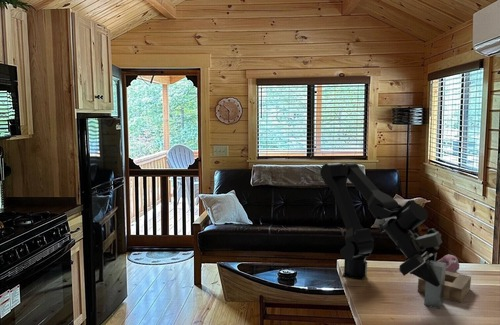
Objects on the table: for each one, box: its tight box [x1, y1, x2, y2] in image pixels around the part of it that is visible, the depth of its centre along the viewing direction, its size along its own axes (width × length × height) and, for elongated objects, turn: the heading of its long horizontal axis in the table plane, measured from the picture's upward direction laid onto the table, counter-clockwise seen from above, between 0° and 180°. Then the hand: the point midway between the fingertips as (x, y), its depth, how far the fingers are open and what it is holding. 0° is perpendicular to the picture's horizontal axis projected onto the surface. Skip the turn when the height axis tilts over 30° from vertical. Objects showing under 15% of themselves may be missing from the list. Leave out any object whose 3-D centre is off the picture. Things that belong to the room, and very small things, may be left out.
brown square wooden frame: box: [417, 271, 472, 304], centre depth 133 cm, size 12×12×4 cm
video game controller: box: [437, 253, 460, 273], centre depth 148 cm, size 10×5×7 cm, turn 169°
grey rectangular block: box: [423, 260, 446, 310], centre depth 123 cm, size 4×4×12 cm
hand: (440, 283), depth 122 cm, fingers closed on grey rectangular block, 4 cm apart
